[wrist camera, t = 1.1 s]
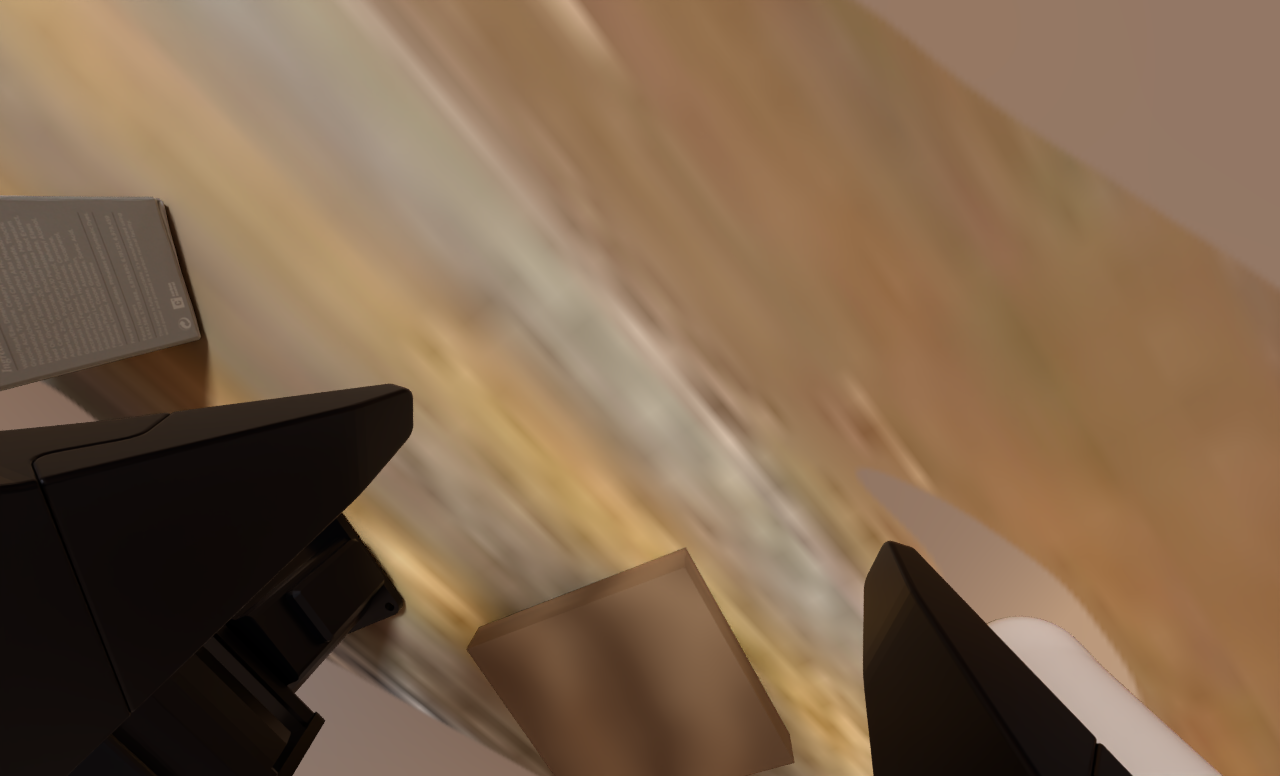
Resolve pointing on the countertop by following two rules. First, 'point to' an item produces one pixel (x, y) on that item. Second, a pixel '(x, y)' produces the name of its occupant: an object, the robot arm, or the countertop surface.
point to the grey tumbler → (1100, 700)
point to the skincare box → (86, 285)
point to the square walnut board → (634, 679)
